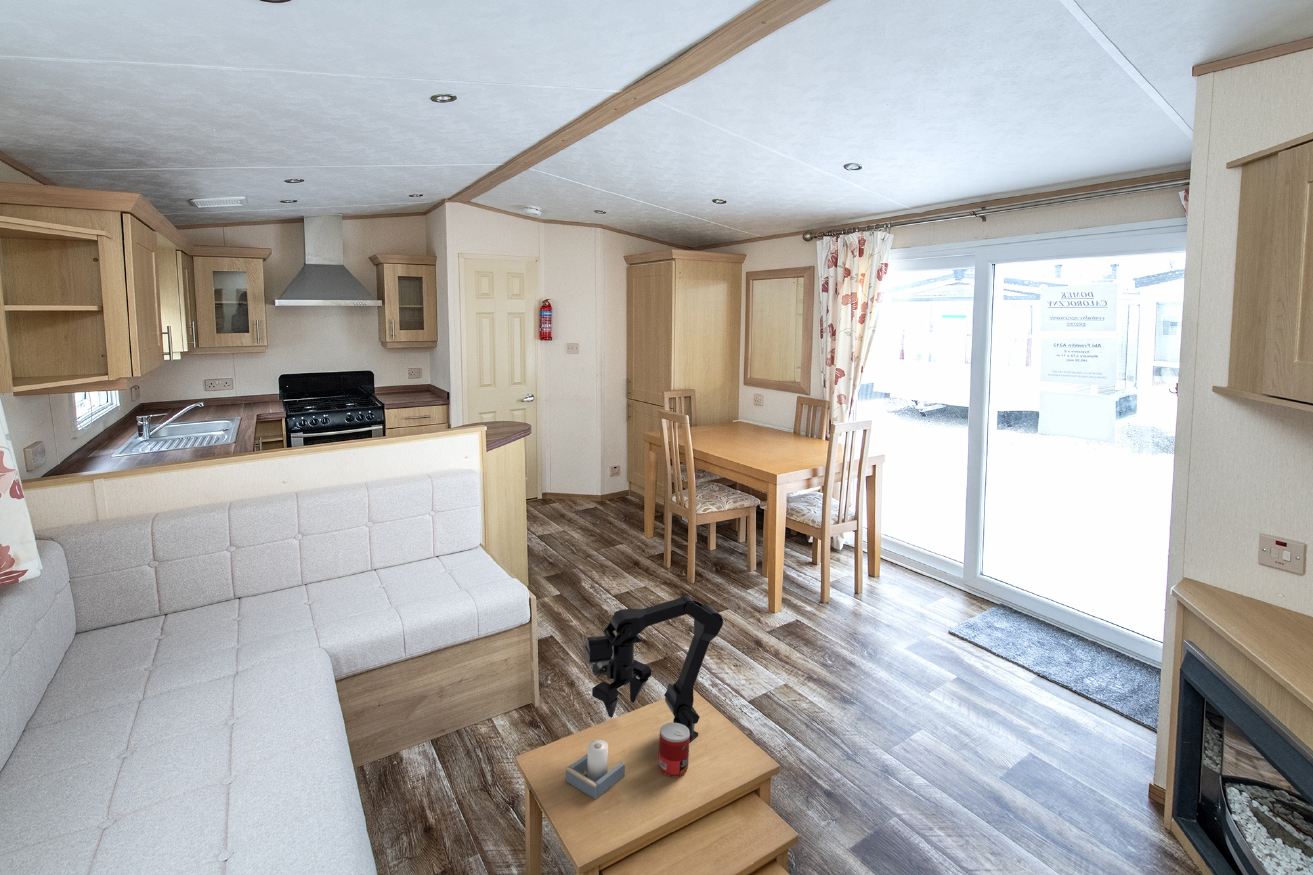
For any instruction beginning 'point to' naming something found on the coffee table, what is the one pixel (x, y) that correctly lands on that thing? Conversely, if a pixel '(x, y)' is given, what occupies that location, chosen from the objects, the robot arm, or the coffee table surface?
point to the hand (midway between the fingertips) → (621, 709)
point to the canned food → (674, 749)
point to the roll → (597, 759)
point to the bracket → (587, 784)
